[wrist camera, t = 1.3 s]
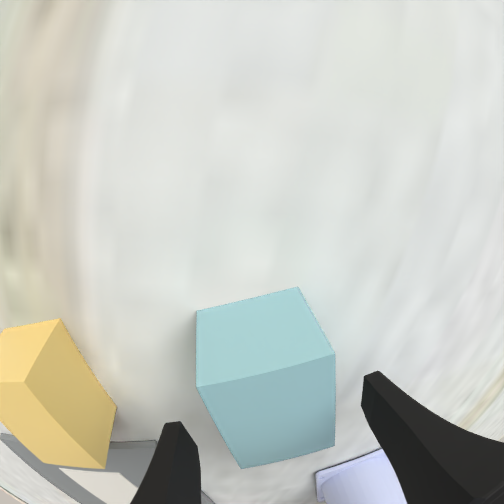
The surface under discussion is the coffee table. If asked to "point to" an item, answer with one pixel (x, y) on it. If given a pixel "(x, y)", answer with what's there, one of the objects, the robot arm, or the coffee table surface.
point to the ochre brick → (53, 397)
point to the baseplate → (97, 472)
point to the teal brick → (267, 377)
